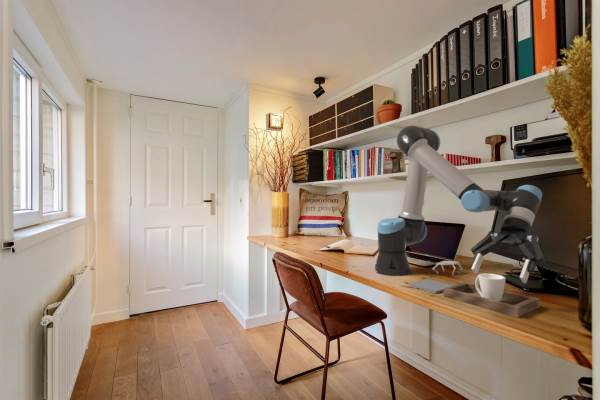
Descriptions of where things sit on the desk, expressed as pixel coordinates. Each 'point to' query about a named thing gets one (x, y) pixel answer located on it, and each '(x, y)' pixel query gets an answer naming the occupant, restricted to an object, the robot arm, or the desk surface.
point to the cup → (490, 286)
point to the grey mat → (430, 285)
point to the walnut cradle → (522, 308)
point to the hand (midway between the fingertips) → (496, 275)
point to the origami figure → (447, 264)
